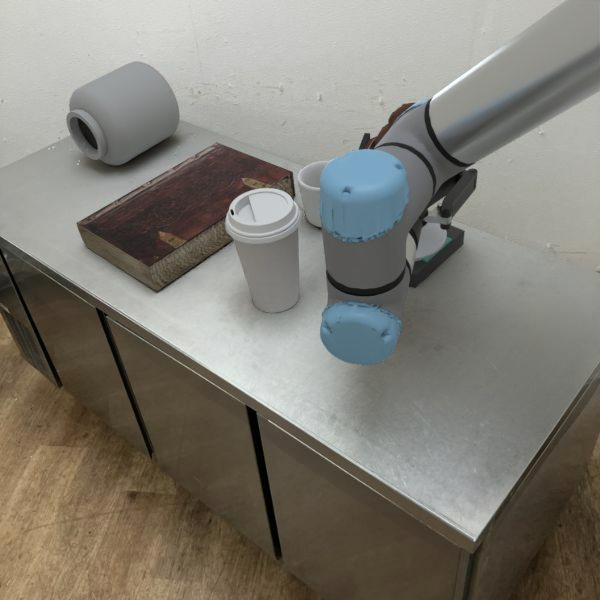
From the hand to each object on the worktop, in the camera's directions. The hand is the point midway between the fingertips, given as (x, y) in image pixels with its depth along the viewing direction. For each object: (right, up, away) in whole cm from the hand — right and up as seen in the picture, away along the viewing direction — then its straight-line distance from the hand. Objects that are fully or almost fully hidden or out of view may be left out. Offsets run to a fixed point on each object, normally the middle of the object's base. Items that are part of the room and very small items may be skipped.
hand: (410, 144), depth 86 cm
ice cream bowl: (0, -9, +3) cm, 9 cm away
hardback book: (-32, -8, +18) cm, 38 cm away
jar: (-47, +5, +34) cm, 59 cm away
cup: (-9, -8, +14) cm, 19 cm away
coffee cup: (-18, -21, +3) cm, 27 cm away
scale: (0, -14, +7) cm, 15 cm away
